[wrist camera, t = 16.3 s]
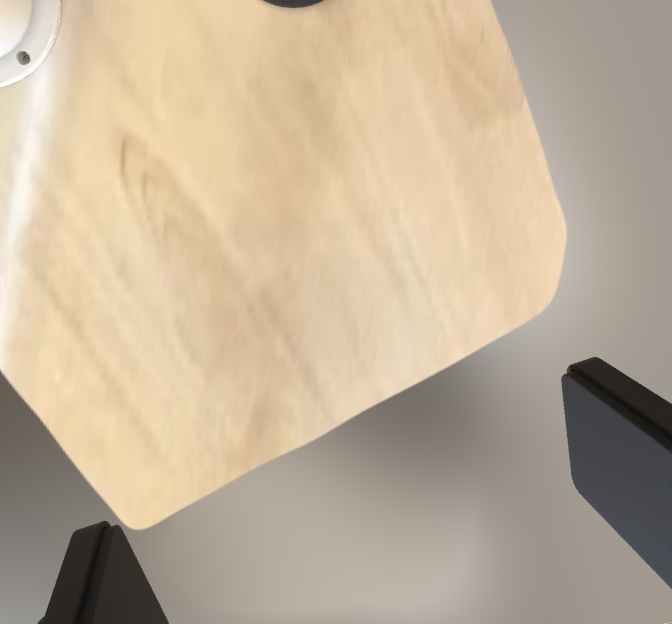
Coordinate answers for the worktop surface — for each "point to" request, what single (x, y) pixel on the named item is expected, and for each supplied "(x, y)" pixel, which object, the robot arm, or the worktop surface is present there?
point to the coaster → (293, 3)
